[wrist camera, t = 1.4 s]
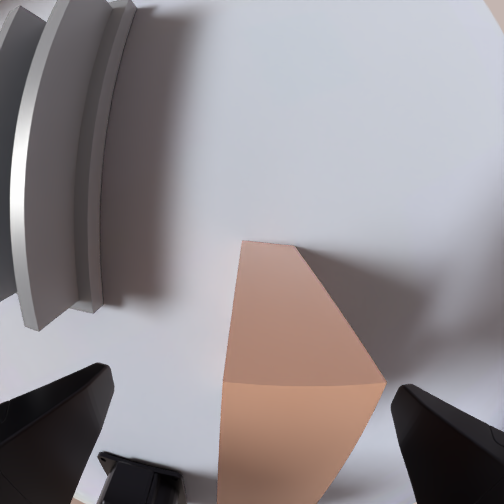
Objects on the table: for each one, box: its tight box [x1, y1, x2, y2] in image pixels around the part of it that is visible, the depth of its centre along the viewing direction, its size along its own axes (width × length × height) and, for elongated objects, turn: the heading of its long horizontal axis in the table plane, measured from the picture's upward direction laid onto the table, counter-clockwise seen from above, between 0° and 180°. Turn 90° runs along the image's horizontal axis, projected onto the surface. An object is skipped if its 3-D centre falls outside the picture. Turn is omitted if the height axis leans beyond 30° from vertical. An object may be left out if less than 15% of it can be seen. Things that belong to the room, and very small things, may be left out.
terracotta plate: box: [217, 241, 387, 504], centre depth 8 cm, size 7×2×8 cm, turn 174°
